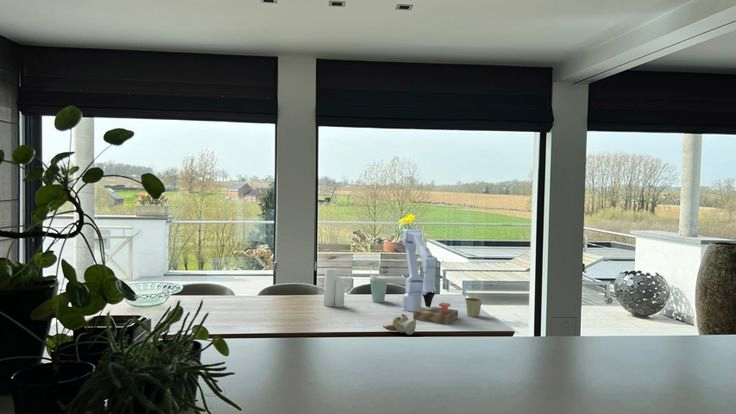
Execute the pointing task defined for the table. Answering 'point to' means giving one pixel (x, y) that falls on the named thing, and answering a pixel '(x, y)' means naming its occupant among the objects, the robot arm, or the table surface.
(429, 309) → the cream button
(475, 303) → the flower pot
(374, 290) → the disposable coffee cup
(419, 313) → the panel
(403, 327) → the ceramic sculpture
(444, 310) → the red button
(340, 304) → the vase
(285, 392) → the table surface
